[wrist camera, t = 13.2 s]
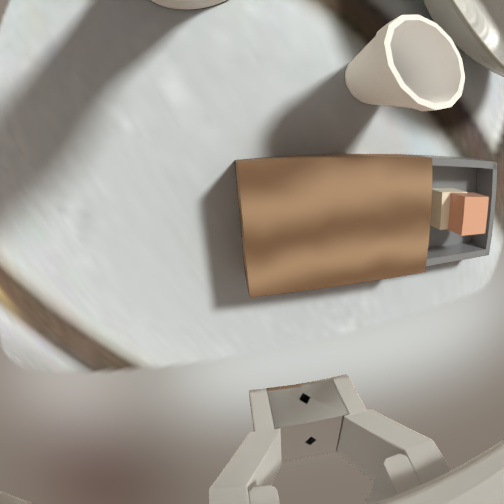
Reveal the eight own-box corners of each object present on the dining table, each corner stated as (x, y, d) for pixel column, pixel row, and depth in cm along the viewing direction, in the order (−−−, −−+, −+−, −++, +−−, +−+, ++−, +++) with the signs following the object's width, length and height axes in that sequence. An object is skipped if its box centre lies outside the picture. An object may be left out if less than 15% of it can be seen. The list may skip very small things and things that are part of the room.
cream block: (467, 191, 34) (454, 188, 37) (442, 192, 34) (429, 188, 37) (464, 227, 36) (452, 221, 39) (439, 230, 36) (427, 224, 38)
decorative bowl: (513, 103, 34) (564, 105, 22) (394, 69, 32) (452, 51, 20) (486, -22, 25) (526, -37, 14) (364, -73, 23) (398, -111, 12)
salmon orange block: (450, 192, 34) (465, 196, 31) (474, 192, 34) (488, 196, 31) (447, 229, 36) (461, 235, 33) (471, 227, 36) (485, 233, 33)
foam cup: (346, 123, 34) (405, 117, 22) (321, 53, 31) (368, 16, 19) (407, 108, 34) (475, 102, 21) (385, 43, 31) (445, 15, 18)
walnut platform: (234, 160, 34) (237, 162, 29) (405, 154, 36) (432, 157, 30) (245, 275, 39) (249, 297, 33) (402, 255, 40) (425, 271, 35)
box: (408, 154, 36) (428, 157, 31) (477, 158, 37) (496, 162, 32) (405, 255, 40) (422, 266, 36) (471, 245, 41) (488, 254, 37)
